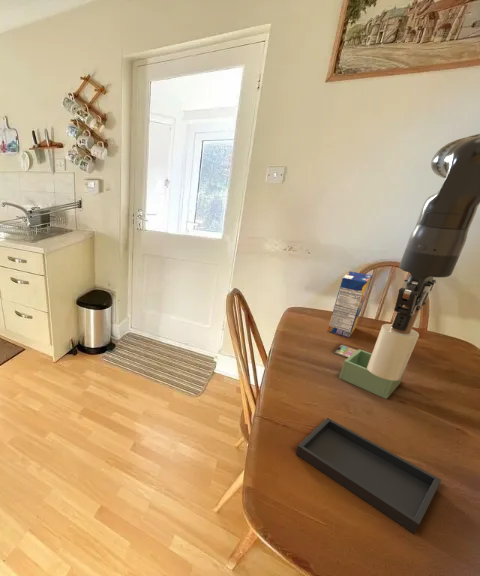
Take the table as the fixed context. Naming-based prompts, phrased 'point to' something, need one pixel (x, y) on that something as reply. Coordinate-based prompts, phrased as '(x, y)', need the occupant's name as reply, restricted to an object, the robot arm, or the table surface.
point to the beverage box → (349, 303)
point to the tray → (370, 472)
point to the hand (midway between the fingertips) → (401, 326)
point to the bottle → (393, 350)
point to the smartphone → (345, 351)
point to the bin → (366, 375)
